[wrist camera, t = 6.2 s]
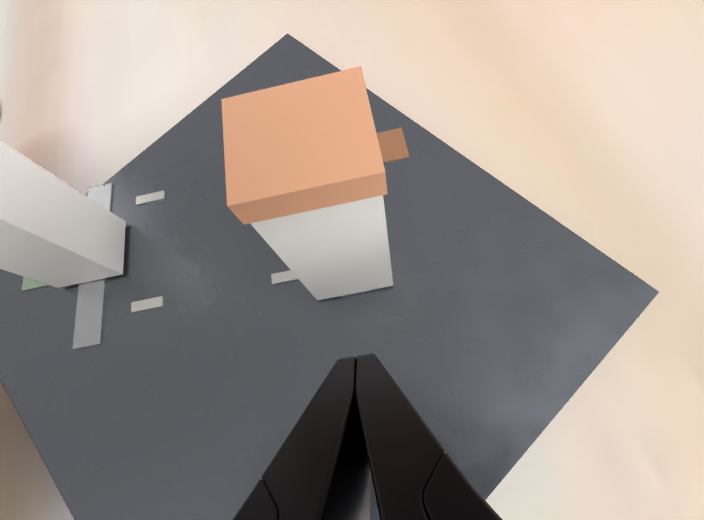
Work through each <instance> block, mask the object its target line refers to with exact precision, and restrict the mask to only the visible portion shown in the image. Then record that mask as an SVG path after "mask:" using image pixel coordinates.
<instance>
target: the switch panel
mask: <svg viewBox="0 0 704 520" xmlns="http://www.w3.org/2000/svg"><path fill="white" fill-rule="evenodd" d="M339 71H341V70H339V69H338V68H336V67H335V66H334V65H332V64H331V63H329V62H328V61H326V60H325V59H323V58H322V57H321V56H319V55H318V54H316V53H315V52H313V51H312V50H311V49H309V48H308V47H306V46H305V45H303V44H302V43H300V42H299V41H298V40H296V39H295V38H293V37H292V36H290V35H289V34H286V35H285V36H284V37H283V38H281V39H280V40H279V41H278V42H277V43H275V44H274V45H273V46H272V47H270V48H269V49H268V50H267V51H266V52H264V53H263V54H262V55H261V56H259V57H258V58H257V59H256V60H255V61H253V62H252V63H251V64H250V65H248V66H247V67H246V68H245V69H244V70H242V71H241V72H240V73H239V74H237V75H236V76H235V77H234V78H232V79H231V80H230V81H229V82H228V83H226V84H225V85H224V86H223V87H221V88H220V89H219V90H218V91H217V92H215V93H214V94H213V95H212V96H210V97H209V98H208V99H207V100H206V101H204V102H203V103H202V104H201V105H199V106H198V107H197V108H196V109H195V110H193V111H192V112H191V113H190V114H188V115H187V116H186V117H185V118H183V119H182V120H181V121H180V122H179V123H177V124H176V125H175V126H174V127H172V128H171V129H170V130H169V131H168V132H166V133H165V134H164V135H163V136H161V137H160V138H159V139H158V140H157V141H155V142H154V143H153V144H152V145H150V146H149V147H148V148H147V149H146V150H144V151H143V152H142V153H141V154H139V155H138V156H137V157H136V158H134V159H133V160H132V161H131V162H130V163H128V164H127V165H126V166H125V167H123V168H122V169H121V170H120V171H119V172H117V173H116V174H115V175H114V176H112V177H111V178H110V179H109V180H108V181H106V182H105V183H104V184H103V185H101V186H96V187H92V188H88V196H87V197H89V198H90V199H92V200H93V201H95V202H96V203H98V204H100V205H101V206H103V207H104V208H106V209H107V210H109V211H110V212H112V213H114V214H115V215H117V216H118V217H120V218H121V219H123V220H124V221H126V227H125V246H124V264H123V274H122V275H118V276H113V277H108V278H103V279H98V280H94V281H89V282H84V283H79V284H74V285H70V286H65V287H60V288H57V287H54V286H51V285H48V284H45V283H42V282H38V281H35V280H32V279H29V278H26V277H23V276H20V275H17V274H14V273H11V272H8V271H5V270H2V269H0V380H1V382H2V383H3V385H4V387H5V389H6V391H7V393H8V395H9V397H10V399H11V400H12V402H13V404H14V406H15V408H16V410H17V412H18V414H19V416H20V418H21V419H22V421H23V423H24V425H25V427H26V429H27V431H28V433H29V435H30V436H31V438H32V440H33V442H34V444H35V446H36V448H37V450H38V452H39V453H40V455H41V457H42V459H43V461H44V463H45V465H46V467H47V469H48V471H49V472H50V474H51V476H52V478H53V480H54V482H55V484H56V486H57V488H58V489H59V491H60V493H61V495H62V497H63V499H64V501H65V503H66V505H67V506H68V508H69V510H70V512H71V514H72V516H73V518H74V520H233V518H234V517H235V515H236V514H237V512H238V511H239V510H240V508H241V507H242V505H243V504H244V502H245V501H246V499H247V498H248V496H249V495H250V493H251V492H252V490H253V489H254V487H255V486H256V484H257V482H258V481H259V480H262V475H263V474H264V472H265V470H266V469H267V467H268V466H269V464H270V463H271V461H272V460H273V458H274V457H275V455H276V453H277V452H278V450H279V449H280V447H281V446H282V444H283V443H284V441H285V440H286V438H287V437H288V435H289V433H290V432H291V430H292V429H293V427H294V426H295V424H296V423H297V421H298V420H299V418H300V416H301V415H302V413H303V412H304V410H305V409H306V407H307V406H308V404H309V403H310V401H311V399H312V398H313V396H314V395H315V393H316V392H317V390H318V389H319V387H320V386H321V384H322V383H323V381H324V379H325V378H326V376H327V375H328V373H329V372H330V370H331V369H332V367H333V366H334V364H335V362H336V361H337V360H338V359H340V358H345V357H351V356H354V357H355V358H357V356H358V355H363V354H369V353H374V354H375V355H376V356H377V358H378V359H379V360H380V362H381V363H382V365H383V366H384V367H385V369H386V370H387V371H388V373H389V374H390V376H391V377H392V378H393V380H394V381H395V382H396V384H397V385H398V386H399V388H400V389H401V391H402V392H403V393H404V395H405V396H406V397H407V399H408V400H409V401H410V403H411V404H412V406H413V407H414V408H415V410H416V411H417V412H418V414H419V415H420V416H421V418H422V419H423V421H424V422H425V423H426V425H427V426H428V427H429V429H430V430H431V431H432V433H433V434H434V436H435V437H436V438H437V440H438V441H439V442H440V444H441V445H442V446H443V448H444V449H445V451H446V453H448V454H449V456H450V457H451V458H452V460H453V461H454V463H455V464H456V465H457V467H458V468H459V469H460V471H461V472H462V473H463V474H464V476H465V477H466V478H467V479H468V481H469V482H470V483H471V484H472V486H473V487H474V488H475V490H476V491H477V492H478V493H479V494H480V495H481V496H482V498H483V499H484V500H486V499H487V497H488V496H489V495H490V494H491V493H492V491H493V490H494V489H495V488H496V487H497V485H498V484H499V483H500V482H501V481H502V479H503V478H504V477H505V476H506V475H507V473H508V472H509V471H510V470H511V469H512V467H513V466H514V465H515V464H516V463H517V461H518V460H519V459H520V458H521V457H522V455H523V454H524V453H525V452H526V451H527V449H528V448H529V447H530V446H531V445H532V443H533V442H534V441H535V440H536V439H537V437H538V436H539V435H540V434H541V433H542V431H543V430H544V429H545V428H546V427H547V425H548V424H549V423H550V422H551V421H552V420H553V418H554V417H555V416H556V415H557V414H558V412H559V411H560V410H561V409H562V408H563V406H564V405H565V404H566V403H567V402H568V400H569V399H570V398H571V397H572V396H573V394H574V393H575V392H576V391H577V390H578V388H579V387H580V386H581V385H582V384H583V382H584V381H585V380H586V379H587V378H588V376H589V375H590V374H591V373H592V372H593V370H594V369H595V368H596V367H597V366H598V364H599V363H600V362H601V361H602V360H603V358H604V357H605V356H606V355H607V354H608V352H609V351H610V350H611V349H612V348H613V346H614V345H615V344H616V343H617V342H618V340H619V339H620V338H621V337H622V336H623V335H624V333H625V332H626V331H627V330H628V329H629V327H630V326H631V325H632V324H633V323H634V321H635V320H636V319H637V318H638V317H639V315H640V314H641V313H642V312H643V311H644V309H645V308H646V307H647V306H648V305H649V303H650V302H651V301H652V300H653V299H654V297H655V296H656V295H657V294H658V293H659V292H658V291H657V290H656V289H654V288H653V287H651V286H650V285H648V284H647V283H646V282H644V281H643V280H641V279H640V278H638V277H637V276H635V275H634V274H633V273H631V272H630V271H628V270H627V269H625V268H624V267H623V266H621V265H620V264H618V263H617V262H615V261H614V260H612V259H611V258H610V257H608V256H607V255H605V254H604V253H602V252H601V251H600V250H598V249H597V248H595V247H594V246H592V245H591V244H589V243H588V242H587V241H585V240H584V239H582V238H581V237H579V236H578V235H577V234H575V233H574V232H572V231H571V230H569V229H568V228H566V227H565V226H564V225H562V224H561V223H559V222H558V221H556V220H555V219H553V218H552V217H551V216H549V215H548V214H546V213H545V212H543V211H542V210H541V209H539V208H538V207H536V206H535V205H533V204H532V203H530V202H529V201H528V200H526V199H525V198H523V197H522V196H520V195H519V194H518V193H516V192H515V191H513V190H512V189H510V188H509V187H507V186H506V185H505V184H503V183H502V182H500V181H499V180H497V179H496V178H495V177H493V176H492V175H490V174H489V173H487V172H486V171H484V170H483V169H482V168H480V167H479V166H477V165H476V164H474V163H473V162H472V161H470V160H469V159H467V158H466V157H464V156H463V155H461V154H460V153H459V152H457V151H456V150H454V149H453V148H451V147H450V146H449V145H447V144H446V143H444V142H443V141H441V140H440V139H438V138H437V137H436V136H434V135H433V134H431V133H430V132H428V131H427V130H426V129H424V128H423V127H421V126H420V125H418V124H417V123H415V122H414V121H413V120H411V119H410V118H408V117H407V116H405V115H404V114H403V113H401V112H400V111H398V110H397V109H395V108H394V107H392V106H391V105H390V104H388V103H387V102H385V101H384V100H382V99H381V98H380V97H378V96H377V95H375V94H374V93H372V92H371V91H369V90H368V89H367V88H366V90H367V94H368V99H369V103H370V107H371V112H372V116H373V120H374V125H375V129H376V133H377V138H378V142H379V146H380V151H381V155H382V159H383V164H384V168H385V173H386V184H387V194H386V195H383V199H384V208H385V216H386V225H387V234H388V243H389V252H390V260H391V269H392V278H393V286H389V287H384V288H378V289H373V290H368V291H363V292H358V293H353V294H348V295H343V296H338V297H333V298H328V299H323V300H318V301H317V300H316V298H315V297H314V296H313V295H312V294H311V293H310V292H309V290H308V289H307V288H306V287H305V286H304V285H303V283H302V282H301V281H300V280H299V279H298V278H297V277H296V275H295V274H294V273H293V272H292V271H291V270H290V269H289V267H288V266H287V265H286V264H285V263H284V262H283V261H282V259H281V258H280V257H279V256H278V255H277V254H276V253H275V251H274V250H273V249H272V248H271V247H270V246H269V244H268V243H267V242H266V241H265V240H264V239H263V238H262V236H261V235H260V234H259V233H258V232H257V231H256V230H255V228H254V227H253V226H252V225H251V224H245V225H244V224H243V223H242V222H241V221H240V220H239V219H238V218H237V216H236V215H235V214H234V213H233V212H232V211H231V210H230V209H229V208H228V207H227V196H226V177H225V158H224V139H223V120H222V101H221V99H224V98H228V97H233V96H237V95H241V94H245V93H250V92H254V91H258V90H262V89H267V88H271V87H275V86H279V85H284V84H288V83H292V82H296V81H301V80H305V79H309V78H313V77H318V76H322V75H326V74H330V73H335V72H339ZM370 520H380V517H379V512H378V507H377V502H376V497H375V492H374V487H373V482H372V477H371V478H370Z"/></svg>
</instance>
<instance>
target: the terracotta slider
mask: <svg viewBox="0 0 704 520" xmlns="http://www.w3.org/2000/svg"><path fill="white" fill-rule="evenodd" d="M221 101H222V120H223V139H224V158H225V177H226V196H227V207H228V208H229V209H230V210H231V211H232V212H233V213H234V214H235V215H236V216H237V218H238V219H239V220H240V221H241V222H242V223H243V224H244V225H245V224H251V225H252V226H253V227H254V228H255V230H256V231H257V232H258V233H259V234H260V235H261V236H262V238H263V239H264V240H265V241H266V242H267V243H268V244H269V246H270V247H271V248H272V249H273V250H274V251H275V253H276V254H277V255H278V256H279V257H280V258H281V259H282V261H283V262H284V263H285V264H286V265H287V266H288V267H289V269H290V270H291V271H292V272H293V273H294V274H295V275H296V277H297V278H298V279H299V280H300V281H301V282H302V283H303V285H304V286H305V287H306V288H307V289H308V290H309V292H310V293H311V294H312V295H313V296H314V297H315V298H316V300H317V301H318V300H323V299H328V298H333V297H338V296H343V295H348V294H353V293H358V292H363V291H368V290H373V289H378V288H384V287H389V286H393V278H392V269H391V260H390V252H389V243H388V234H387V225H386V216H385V208H384V199H383V195H386V194H387V184H386V173H385V168H384V164H383V159H382V155H381V151H380V146H379V142H378V138H377V133H376V129H375V125H374V120H373V116H372V112H371V107H370V103H369V99H368V94H367V90H366V86H365V82H364V77H363V73H362V69H361V66H360V67H356V68H352V69H347V70H343V71H339V72H335V73H330V74H326V75H322V76H318V77H313V78H309V79H305V80H301V81H296V82H292V83H288V84H284V85H279V86H275V87H271V88H267V89H262V90H258V91H254V92H250V93H245V94H241V95H237V96H233V97H228V98H224V99H221Z"/></svg>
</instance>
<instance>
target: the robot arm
mask: <svg viewBox="0 0 704 520" xmlns="http://www.w3.org/2000/svg"><path fill="white" fill-rule="evenodd" d="M371 477H372V482H373V487H374V492H375V497H376V502H377V507H378V512H379V517H380V520H502V519H501V518H500V517H499V515H498V514H497V513H496V512H495V511H494V510H493V509H492V508H491V507H490V505H489V504H488V503H487V502H486V501H485V500H484V499H483V498H482V496H481V495H480V494H479V493H478V492H477V491H476V490H475V488H474V487H473V486H472V484H471V483H470V482H469V481H468V479H467V478H466V477H465V476H464V474H463V473H462V472H461V471H460V469H459V468H458V467H457V465H456V464H455V463H454V461H453V460H452V458H451V457H450V456H449V454H448V453H446V451H445V449H444V448H443V446H442V445H441V444H440V442H439V441H438V440H437V438H436V437H435V436H434V434H433V433H432V431H431V430H430V429H429V427H428V426H427V425H426V423H425V422H424V421H423V419H422V418H421V416H420V415H419V414H418V412H417V411H416V410H415V408H414V407H413V406H412V404H411V403H410V401H409V400H408V399H407V397H406V396H405V395H404V393H403V392H402V391H401V389H400V388H399V386H398V385H397V384H396V382H395V381H394V380H393V378H392V377H391V376H390V374H389V373H388V371H387V370H386V369H385V367H384V366H383V365H382V363H381V362H380V360H379V359H378V358H377V356H376V355H375V354H374V353H369V354H363V355H358V356H357V358H355V357H354V356H351V357H345V358H340V359H338V360H337V361H336V362H335V364H334V366H333V367H332V369H331V370H330V372H329V373H328V375H327V376H326V378H325V379H324V381H323V383H322V384H321V386H320V387H319V389H318V390H317V392H316V393H315V395H314V396H313V398H312V399H311V401H310V403H309V404H308V406H307V407H306V409H305V410H304V412H303V413H302V415H301V416H300V418H299V420H298V421H297V423H296V424H295V426H294V427H293V429H292V430H291V432H290V433H289V435H288V437H287V438H286V440H285V441H284V443H283V444H282V446H281V447H280V449H279V450H278V452H277V453H276V455H275V457H274V458H273V460H272V461H271V463H270V464H269V466H268V467H267V469H266V470H265V472H264V474H263V475H262V480H259V481H258V482H257V484H256V486H255V487H254V489H253V490H252V492H251V493H250V495H249V496H248V498H247V499H246V501H245V502H244V504H243V505H242V507H241V508H240V510H239V511H238V512H237V514H236V515H235V517H234V518H233V520H370V478H371Z"/></svg>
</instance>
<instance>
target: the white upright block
mask: <svg viewBox="0 0 704 520" xmlns="http://www.w3.org/2000/svg"><path fill="white" fill-rule="evenodd" d="M125 227H126V221H124V220H123V219H121V218H120V217H118V216H117V215H115V214H114V213H112V212H110V211H109V210H107V209H106V208H104V207H103V206H101V205H100V204H98V203H96V202H95V201H93V200H92V199H90V198H89V197H87V196H86V195H84V194H83V193H81V192H79V191H78V190H76V189H75V188H73V187H72V186H70V185H69V184H67V183H66V182H64V181H62V180H61V179H59V178H58V177H56V176H55V175H53V174H52V173H50V172H49V171H47V170H45V169H44V168H42V167H41V166H39V165H38V164H36V163H35V162H33V161H31V160H30V159H28V158H27V157H25V156H24V155H22V154H21V153H19V152H18V151H16V150H14V149H13V148H11V147H10V146H8V145H7V144H5V143H4V142H2V141H1V140H0V269H2V270H5V271H8V272H11V273H14V274H17V275H20V276H23V277H26V278H29V279H32V280H35V281H38V282H42V283H45V284H48V285H51V286H54V287H57V288H60V287H65V286H70V285H74V284H79V283H84V282H89V281H94V280H98V279H103V278H108V277H113V276H118V275H122V274H123V264H124V246H125Z"/></svg>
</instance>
